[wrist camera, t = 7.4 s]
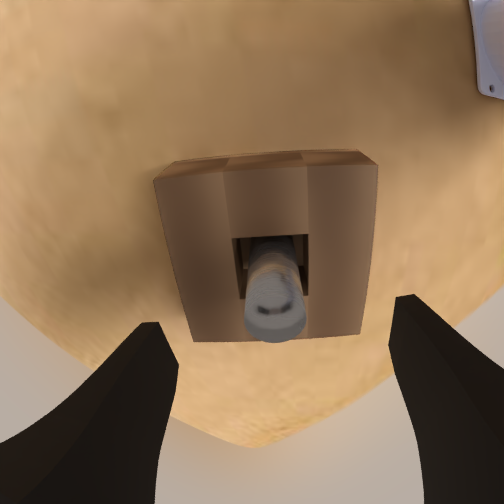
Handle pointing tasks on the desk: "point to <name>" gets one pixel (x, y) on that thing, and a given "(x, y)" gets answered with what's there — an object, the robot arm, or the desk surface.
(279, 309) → the pin
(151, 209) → the desk surface
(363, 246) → the bore block
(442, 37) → the desk surface
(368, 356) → the desk surface
